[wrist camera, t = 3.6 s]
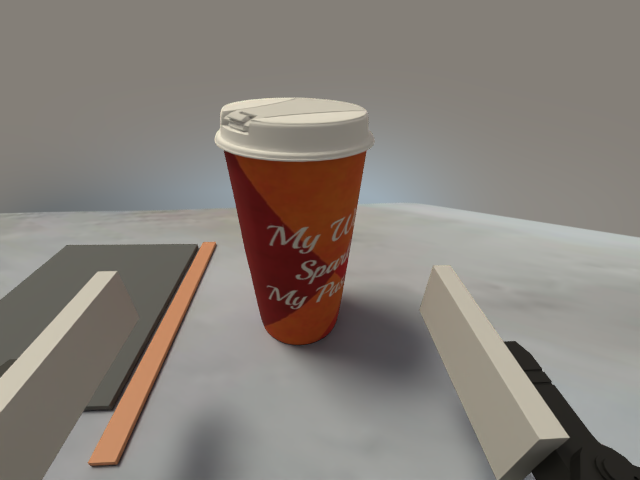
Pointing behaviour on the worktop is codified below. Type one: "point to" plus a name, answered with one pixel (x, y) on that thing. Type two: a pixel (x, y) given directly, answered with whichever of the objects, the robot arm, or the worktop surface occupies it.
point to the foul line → (149, 367)
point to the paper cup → (296, 204)
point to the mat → (71, 276)
